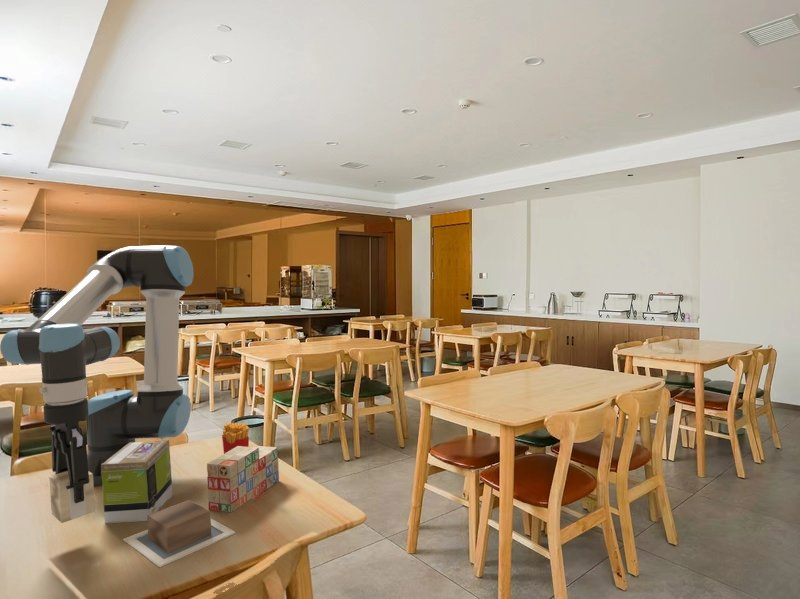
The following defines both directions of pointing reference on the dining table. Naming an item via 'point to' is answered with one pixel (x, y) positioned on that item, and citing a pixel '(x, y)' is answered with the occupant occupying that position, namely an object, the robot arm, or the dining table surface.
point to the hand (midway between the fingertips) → (72, 511)
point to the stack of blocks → (241, 476)
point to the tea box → (136, 481)
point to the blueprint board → (164, 558)
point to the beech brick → (62, 496)
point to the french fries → (235, 436)
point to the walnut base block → (179, 525)
